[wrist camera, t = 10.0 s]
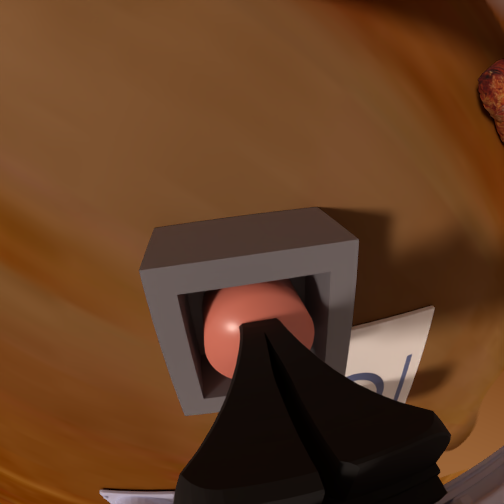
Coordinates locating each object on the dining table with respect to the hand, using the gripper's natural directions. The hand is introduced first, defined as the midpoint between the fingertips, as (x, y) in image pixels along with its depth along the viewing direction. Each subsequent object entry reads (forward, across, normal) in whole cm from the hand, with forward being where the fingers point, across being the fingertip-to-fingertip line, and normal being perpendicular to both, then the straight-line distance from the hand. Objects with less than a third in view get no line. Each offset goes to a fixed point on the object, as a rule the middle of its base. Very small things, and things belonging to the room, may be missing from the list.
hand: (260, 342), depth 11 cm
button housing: (+4, 0, 0) cm, 4 cm away
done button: (+2, 0, 0) cm, 2 cm away
